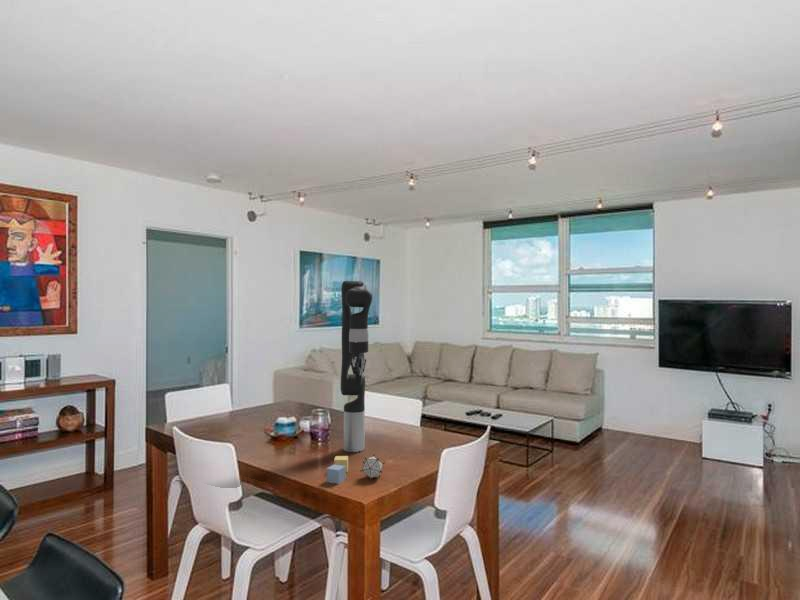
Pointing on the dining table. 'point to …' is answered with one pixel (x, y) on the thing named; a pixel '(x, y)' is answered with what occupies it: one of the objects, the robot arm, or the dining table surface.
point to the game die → (372, 467)
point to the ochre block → (341, 461)
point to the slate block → (336, 474)
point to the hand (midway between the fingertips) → (358, 384)
